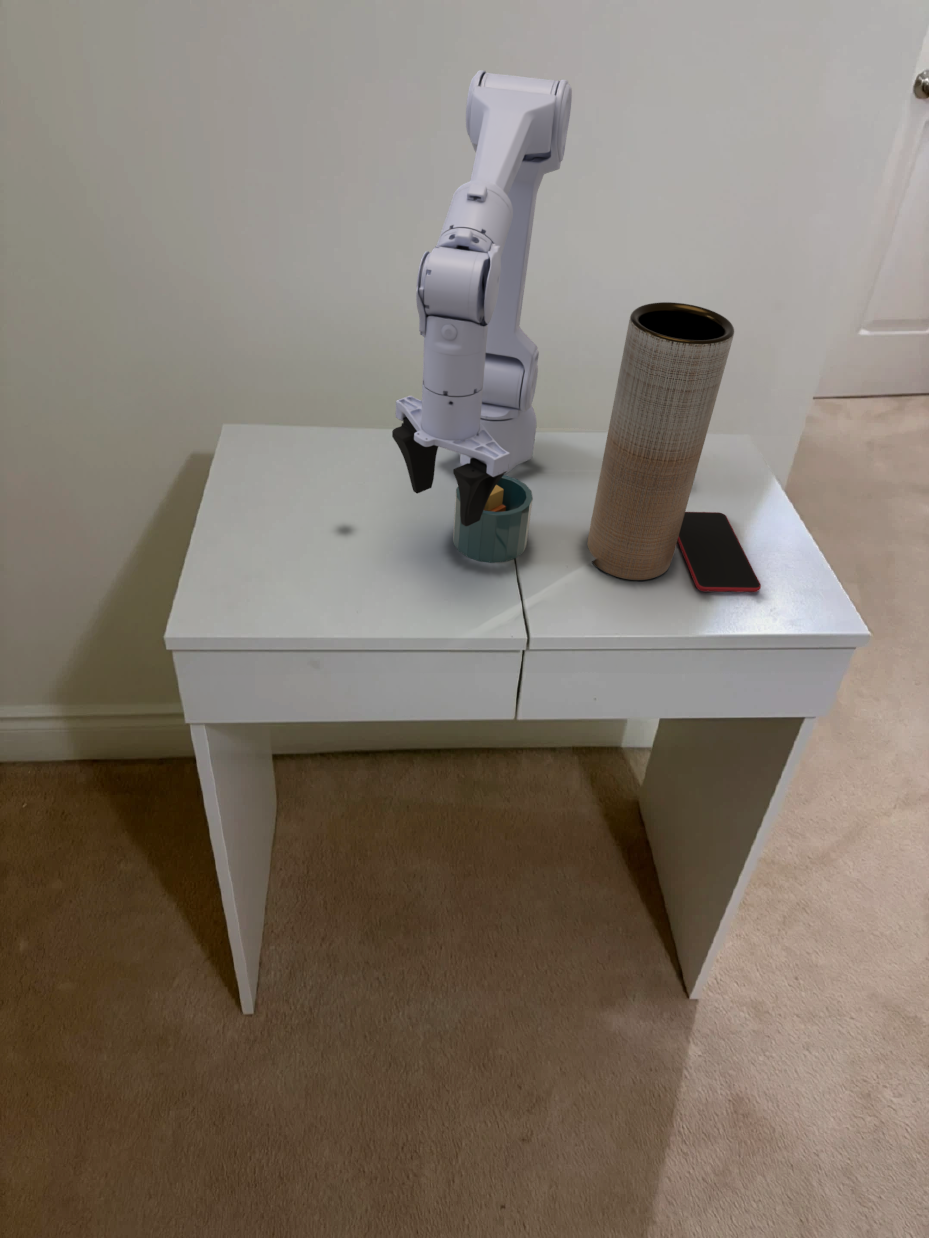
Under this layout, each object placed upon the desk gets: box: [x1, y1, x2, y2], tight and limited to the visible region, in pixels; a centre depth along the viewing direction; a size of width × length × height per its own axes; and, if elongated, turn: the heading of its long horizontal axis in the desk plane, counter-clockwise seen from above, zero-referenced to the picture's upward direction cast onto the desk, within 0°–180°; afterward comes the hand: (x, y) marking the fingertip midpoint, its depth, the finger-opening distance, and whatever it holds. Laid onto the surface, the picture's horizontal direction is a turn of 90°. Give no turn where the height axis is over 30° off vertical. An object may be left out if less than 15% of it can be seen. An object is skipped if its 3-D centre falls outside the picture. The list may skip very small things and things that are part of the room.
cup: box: [452, 474, 534, 564], centre depth 96 cm, size 8×8×8 cm
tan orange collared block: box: [484, 485, 506, 512], centre depth 95 cm, size 8×3×2 cm
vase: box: [586, 301, 735, 581], centre depth 90 cm, size 10×10×28 cm
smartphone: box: [677, 511, 762, 593], centre depth 99 cm, size 7×1×15 cm
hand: (446, 505), depth 88 cm, fingers open, 7 cm apart
